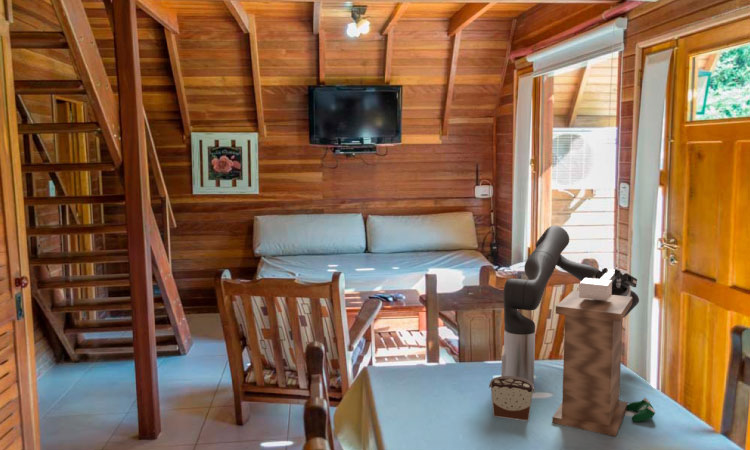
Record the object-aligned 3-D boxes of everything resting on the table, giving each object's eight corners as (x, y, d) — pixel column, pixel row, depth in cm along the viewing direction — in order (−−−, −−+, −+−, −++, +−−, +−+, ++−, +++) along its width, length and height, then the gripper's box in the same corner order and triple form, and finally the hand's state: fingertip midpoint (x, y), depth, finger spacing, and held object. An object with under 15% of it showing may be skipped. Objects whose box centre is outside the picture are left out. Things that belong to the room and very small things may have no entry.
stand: (552, 422, 163) (555, 306, 159) (569, 396, 180) (573, 290, 176) (615, 436, 155) (621, 314, 151) (627, 407, 172) (632, 297, 168)
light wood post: (579, 297, 162) (579, 282, 162) (600, 274, 189) (601, 262, 189) (606, 300, 159) (607, 285, 158) (625, 277, 186) (625, 264, 185)
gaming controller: (641, 430, 163) (659, 416, 161) (630, 419, 163) (648, 406, 161) (634, 415, 171) (651, 402, 170) (624, 405, 172) (641, 392, 170)
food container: (536, 412, 169) (536, 378, 168) (534, 421, 164) (535, 386, 162) (491, 406, 173) (491, 373, 172) (488, 415, 168) (488, 380, 166)
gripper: (596, 275, 201) (588, 257, 187) (641, 279, 194) (636, 261, 180) (593, 297, 199) (584, 280, 185) (639, 302, 192) (634, 285, 178)
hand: (610, 271), depth 183 cm, fingers closed on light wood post, 2 cm apart
